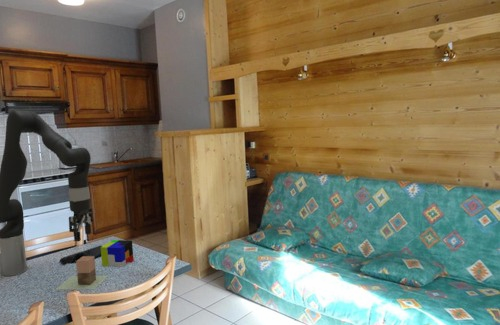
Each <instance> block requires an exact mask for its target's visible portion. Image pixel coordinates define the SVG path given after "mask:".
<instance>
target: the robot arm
mask: <svg viewBox="0 0 500 325" xmlns="http://www.w3.org/2000/svg"><path fill="white" fill-rule="evenodd" d="M5 123H6V125H5V140H4V141H5V142H4V148H3V155H2V159H1V163H0V224H3V223H5V225H4V226H3V227H2V228H1V229H0V275H1V276H2V275H3V276H6V277H12V276H17V275H21V274H23V273H25V272H26V271H28V265H27V264H28V263H27V254H26V247H25V238H24V237H25V236H24V228H25V222H24V209H23V208H24V207H23V205H22V203H21V201H20V200H18V199H16V198H11V197H12V195H13V193H14V192H15V190H16V189H17V188H18V187H19V186H20V184H21V183H22V182H23V180H24V178H25V177H26V172H27V168H28V167H27V166H28V159H27V157H26V155H25V152H24V151H23V150H22V147H21V136H22V133H23V134H25V133H26V134H28V133H29V134H31V133H34V134H37V135H38V136H40V137H41V141H42V143H43V146H44V147H45V148H47V150H49V151H50V152H52V153H54V154H55V155H56V156H57V158H58V160H59V161H60V163H61V164H62V165H64V166H65V167H68V168H73V167H75V170H74V171H72V172H70V173H69V174H68V175H67V180H68V181H67V182H68V201H69V202H68V203H69V210H70V212H72V213H73V215H72V216H68V229H69V233H73V242H80V241H81V228H82V226H83V225H84V231H85V232H84V234H85V235H91V234H92V227H91V226H92V223H93V222H94V213H93V212H94V210H93V208H92V205H91V204H92V203H91V195H90V194H91V193H90V188H89V178H88V177H89V176H88V175H89V170H90V166H91V161H92V160H91V157H92V156H91V153H90V152H89V150H88V149H87V148H85V147H75V148H74V147H73V146H72V143H71V142H70V141H69V140H68V139H66V138H65V137H63V136H62V135H61V134H59V133H58V132H56V131H55V130H54V129H53V128H52V127H51V126H50V125H49V124H48V123H47V122H46V121H45V120H44V119H43V118H42V117H41V116H40V115H39V114H38V113H37V112H36V111H31V110H20V109H19V110H17V109H16V110H11V111H10V112H8V115H7V118H6V122H5Z"/></svg>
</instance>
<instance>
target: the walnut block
mask: <svg viewBox="0 0 500 325" xmlns="http://www.w3.org/2000/svg"><path fill="white" fill-rule="evenodd" d="M76 276H77V277H78V285H91V284H92V283H93V282H94V281H95V280H96V276H97V273H96V268H95V269H93V270H92V271H91V272H90V273H76Z"/></svg>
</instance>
